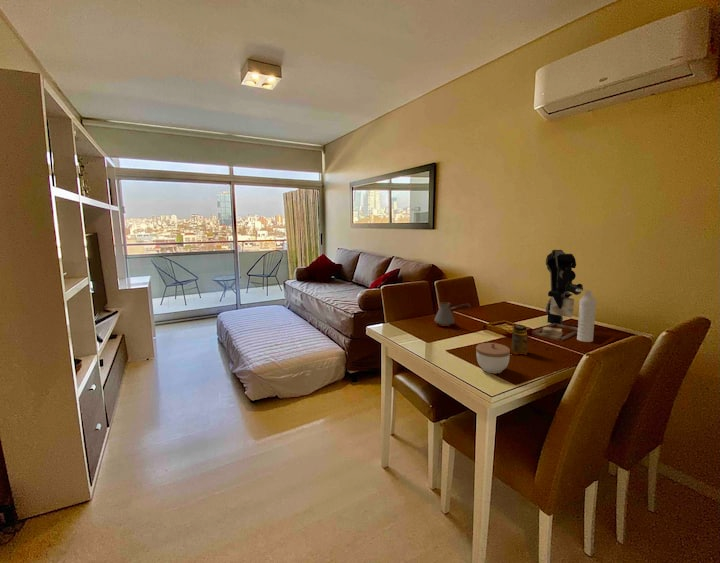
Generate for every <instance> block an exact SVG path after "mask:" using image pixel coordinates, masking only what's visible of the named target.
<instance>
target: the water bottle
mask: <svg viewBox="0 0 720 563" xmlns="http://www.w3.org/2000/svg"><path fill="white" fill-rule="evenodd" d="M576 291H577V292H581V293H582V292H583V291H582V289H576ZM592 293H593V292H592V290H585V293H584V294H583V296H581V297H580V299H579V307H578V308H579V309H578V316H577V317H578V318H577V319H578V321H577V328H578V332H577V334H576V335H577V336H576V340H577V341H579V342H582V343H583V342H584V343H591V342H594V332H595V331H594V330H595V321H596V320H595V319H596V309H597V308H596V305H597V299H596V298H595V297H594V295H593V294H592Z"/></svg>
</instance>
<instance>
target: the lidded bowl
mask: <svg viewBox="0 0 720 563" xmlns="http://www.w3.org/2000/svg"><path fill="white" fill-rule="evenodd" d="M510 349H511V348H509V347H508V346H507V345H504V344H500V343H497V342H482V343H478V344H477V345H476V347H475V350H476V352H475V353H476V354H475V355H476V361H477V363H478V365H479V367H481V369H482V370H483V371H484V372H485V371H486V372H485V373H487V374H492V373H493V374H494V375H495V374H497V373H498V374H501V373H502V372H503V371H504V370H505V369H507V367H508V365H509V364H510V363H509V362H510V357H511V356H510V355H511V354H510ZM493 374H492V375H493Z"/></svg>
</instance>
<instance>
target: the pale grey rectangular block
mask: <svg viewBox="0 0 720 563" xmlns="http://www.w3.org/2000/svg"><path fill="white" fill-rule="evenodd" d="M550 298H551V303H550V314H555V315H561V316H562V317H567V318H572V317H573V316H574V310H575V309H574V306H575V298H571V297H569V298H565V299H564V300H563V304H562V308H561V309H559V308H558V306H557V303H556V301H555V299H554V298H553V297H550Z"/></svg>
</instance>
